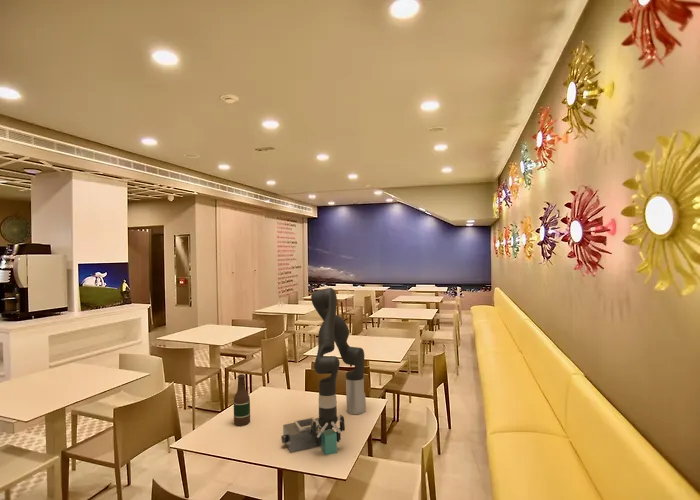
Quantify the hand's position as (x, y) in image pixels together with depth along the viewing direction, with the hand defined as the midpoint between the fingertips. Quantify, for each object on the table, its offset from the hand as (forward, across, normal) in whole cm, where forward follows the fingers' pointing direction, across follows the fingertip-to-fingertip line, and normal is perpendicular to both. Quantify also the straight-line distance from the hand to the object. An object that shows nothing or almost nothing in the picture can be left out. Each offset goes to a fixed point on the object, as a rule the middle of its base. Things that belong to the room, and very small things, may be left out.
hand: (328, 443), depth 164 cm
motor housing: (+3, +6, -12) cm, 14 cm away
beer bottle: (+4, +29, -45) cm, 53 cm away
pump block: (+3, 0, 0) cm, 3 cm away
